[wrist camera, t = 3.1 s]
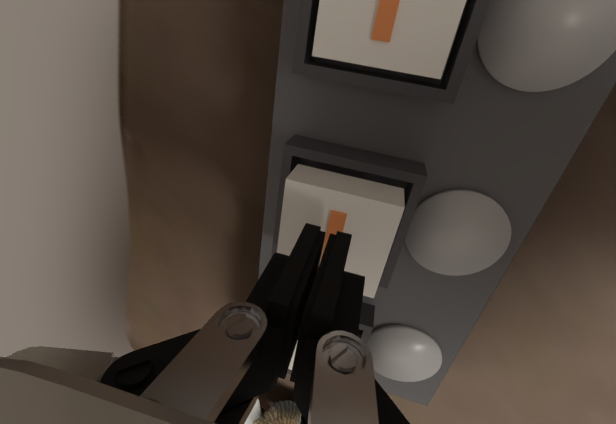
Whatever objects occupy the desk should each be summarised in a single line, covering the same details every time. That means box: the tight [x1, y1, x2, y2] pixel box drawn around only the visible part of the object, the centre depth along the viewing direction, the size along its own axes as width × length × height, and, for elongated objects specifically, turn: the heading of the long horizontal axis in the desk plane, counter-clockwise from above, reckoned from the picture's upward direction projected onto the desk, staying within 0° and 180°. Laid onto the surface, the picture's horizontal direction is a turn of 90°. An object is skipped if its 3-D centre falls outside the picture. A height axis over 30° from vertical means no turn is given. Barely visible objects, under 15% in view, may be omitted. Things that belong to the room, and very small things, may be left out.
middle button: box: [277, 164, 405, 298], centre depth 13 cm, size 4×4×2 cm
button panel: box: [258, 0, 616, 406], centre depth 16 cm, size 12×25×5 cm, turn 171°
